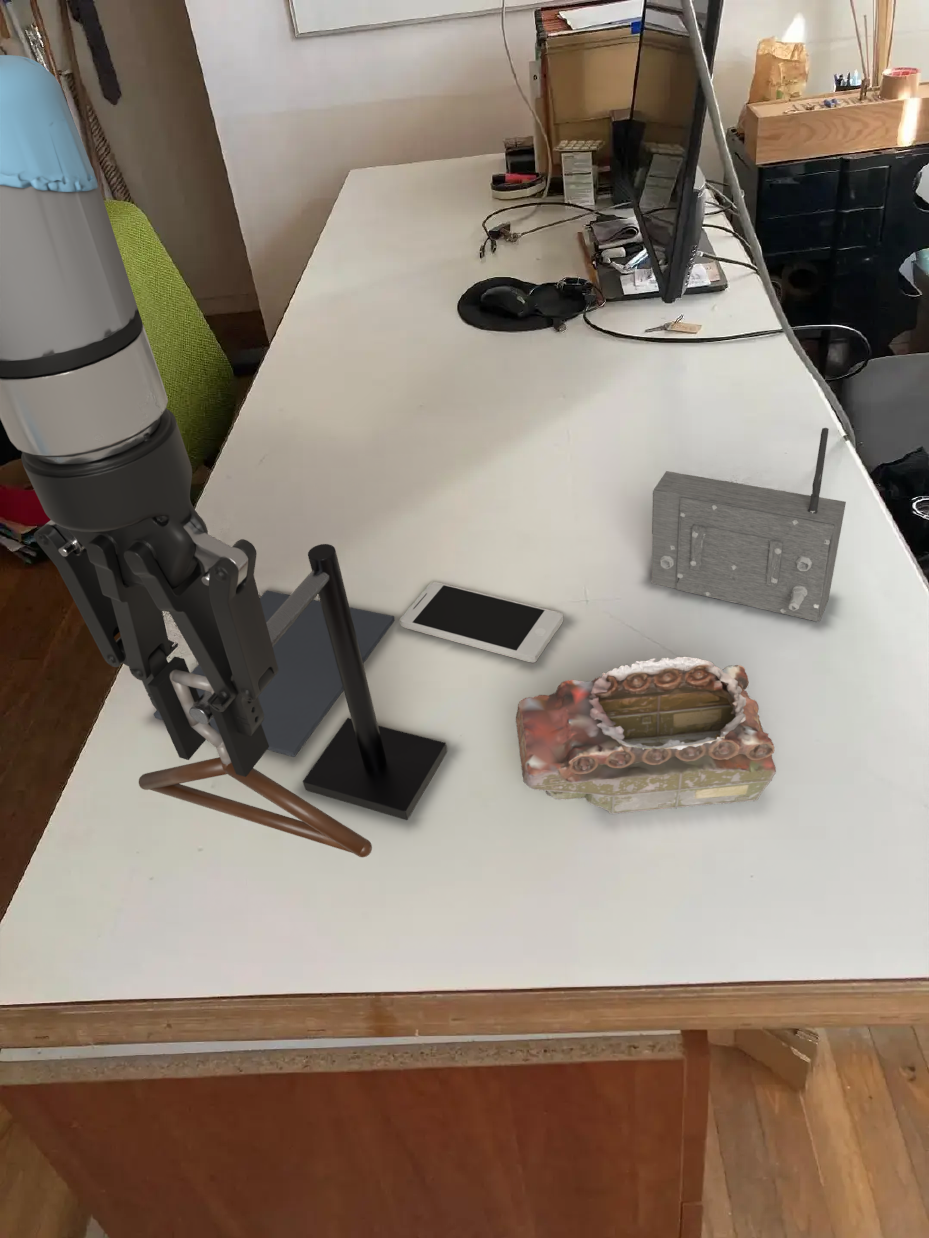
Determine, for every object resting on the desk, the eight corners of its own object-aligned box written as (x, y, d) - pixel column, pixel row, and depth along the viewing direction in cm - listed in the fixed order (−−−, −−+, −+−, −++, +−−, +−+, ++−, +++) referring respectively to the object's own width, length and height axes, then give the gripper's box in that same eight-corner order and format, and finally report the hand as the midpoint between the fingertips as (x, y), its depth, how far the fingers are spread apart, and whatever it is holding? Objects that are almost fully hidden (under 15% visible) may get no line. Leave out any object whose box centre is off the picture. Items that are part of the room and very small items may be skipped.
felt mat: (155, 718, 90) (152, 713, 89) (268, 594, 103) (266, 590, 103) (294, 757, 84) (292, 752, 83) (395, 620, 97) (394, 616, 97)
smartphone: (534, 664, 89) (534, 656, 89) (399, 626, 96) (397, 619, 95) (564, 619, 94) (564, 612, 93) (433, 587, 101) (432, 580, 100)
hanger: (138, 791, 68) (67, 652, 59) (148, 778, 68) (80, 640, 60) (368, 863, 60) (325, 717, 52) (376, 848, 61) (335, 702, 53)
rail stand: (350, 726, 86) (292, 512, 71) (447, 751, 82) (408, 530, 67) (228, 899, 73) (126, 680, 58) (338, 938, 69) (259, 716, 54)
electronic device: (829, 598, 92) (861, 416, 80) (812, 639, 88) (844, 455, 75) (660, 562, 100) (665, 390, 87) (637, 598, 95) (640, 424, 83)
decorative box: (783, 864, 70) (799, 779, 63) (517, 865, 72) (507, 783, 66) (755, 735, 80) (765, 651, 73) (521, 740, 82) (513, 659, 76)
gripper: (281, 408, 45) (365, 741, 60) (24, 379, 51) (157, 686, 66) (187, 489, 40) (304, 831, 54) (-86, 445, 46) (86, 762, 61)
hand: (224, 751), depth 60 cm, fingers closed on hanger, 4 cm apart
